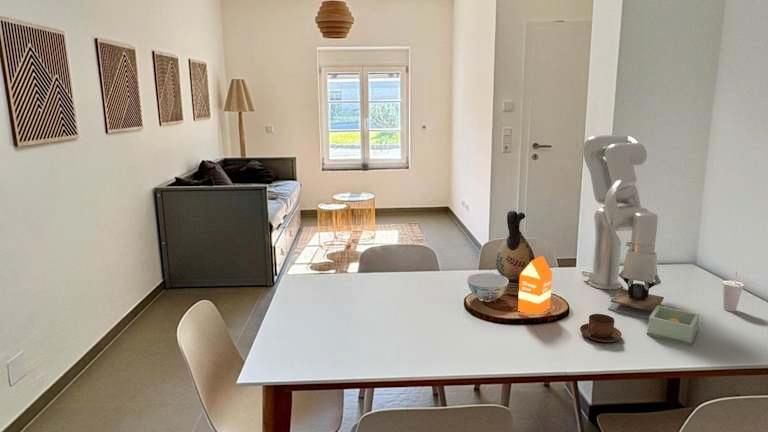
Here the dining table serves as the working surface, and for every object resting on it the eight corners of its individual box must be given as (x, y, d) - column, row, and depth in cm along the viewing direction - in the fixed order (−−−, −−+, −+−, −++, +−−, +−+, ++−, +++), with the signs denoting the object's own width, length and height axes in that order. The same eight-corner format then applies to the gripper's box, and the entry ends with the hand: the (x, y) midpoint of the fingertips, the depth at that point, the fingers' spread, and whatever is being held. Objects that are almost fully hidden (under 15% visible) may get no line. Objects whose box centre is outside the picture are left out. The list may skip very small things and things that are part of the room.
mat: (608, 309, 183) (608, 308, 183) (619, 297, 195) (619, 295, 194) (655, 320, 174) (655, 318, 174) (664, 306, 185) (664, 304, 185)
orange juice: (517, 314, 180) (520, 258, 176) (529, 306, 187) (532, 253, 182) (538, 320, 175) (541, 263, 171) (550, 312, 181) (553, 257, 177)
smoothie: (743, 313, 179) (749, 274, 176) (723, 312, 180) (728, 273, 177) (735, 306, 185) (741, 268, 182) (715, 305, 186) (720, 267, 183)
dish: (647, 335, 163) (649, 317, 162) (655, 322, 173) (657, 305, 171) (690, 345, 156) (693, 327, 155) (697, 331, 165) (699, 314, 164)
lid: (610, 302, 183) (612, 286, 181) (621, 290, 193) (622, 275, 192) (654, 311, 174) (656, 295, 173) (663, 299, 185) (665, 283, 183)
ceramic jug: (504, 273, 223) (507, 204, 216) (539, 280, 214) (543, 208, 207) (487, 284, 209) (489, 211, 203) (524, 292, 200) (528, 216, 194)
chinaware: (462, 303, 190) (463, 283, 188) (471, 290, 203) (472, 271, 202) (504, 309, 184) (504, 288, 183) (510, 294, 198) (511, 275, 196)
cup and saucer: (617, 349, 155) (619, 330, 154) (575, 339, 161) (577, 321, 160) (623, 333, 165) (625, 315, 163) (584, 325, 171) (585, 308, 170)
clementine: (664, 331, 164) (665, 319, 163) (666, 326, 167) (668, 315, 166) (678, 334, 161) (680, 322, 161) (681, 329, 164) (682, 318, 164)
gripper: (614, 246, 182) (609, 295, 186) (667, 254, 172) (661, 306, 175) (620, 241, 187) (615, 289, 191) (671, 249, 177) (665, 300, 181)
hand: (637, 297), depth 183 cm, fingers closed on lid, 3 cm apart
